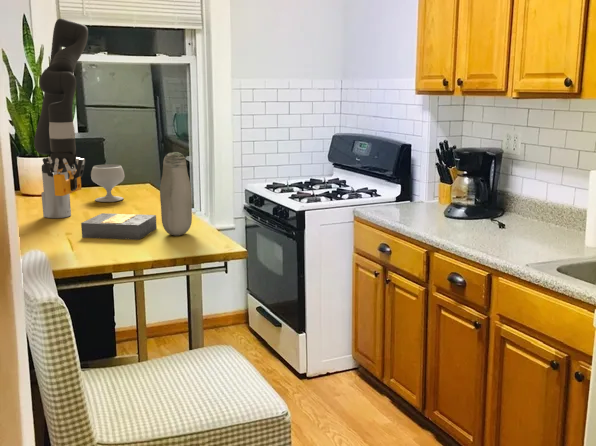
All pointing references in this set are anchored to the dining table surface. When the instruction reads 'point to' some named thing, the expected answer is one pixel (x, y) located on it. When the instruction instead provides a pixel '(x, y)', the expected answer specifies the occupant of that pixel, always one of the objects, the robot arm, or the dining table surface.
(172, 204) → the grey bottle
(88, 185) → the dining table surface
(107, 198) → the chalice
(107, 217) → the steel riser
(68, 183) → the pipe clamp
